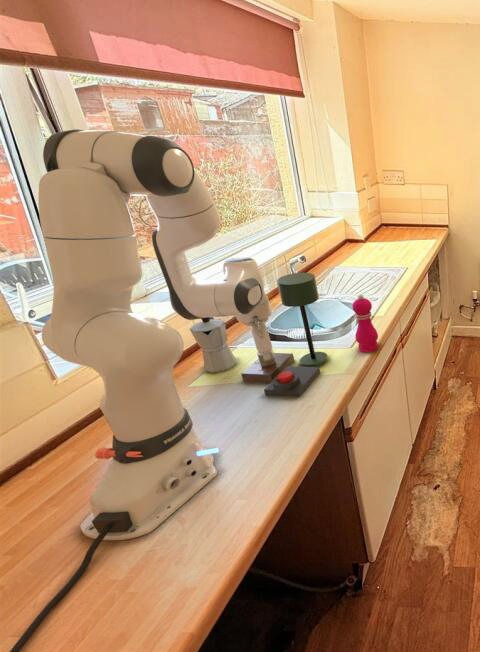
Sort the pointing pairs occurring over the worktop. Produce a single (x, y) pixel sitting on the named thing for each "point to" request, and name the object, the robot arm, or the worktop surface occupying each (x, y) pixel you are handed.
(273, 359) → the dimmer knob
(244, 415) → the worktop surface
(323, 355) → the desk lamp
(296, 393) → the switch block
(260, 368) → the dimmer panel
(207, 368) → the coffee maker
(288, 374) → the lamp button
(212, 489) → the worktop surface
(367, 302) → the pepper mill
